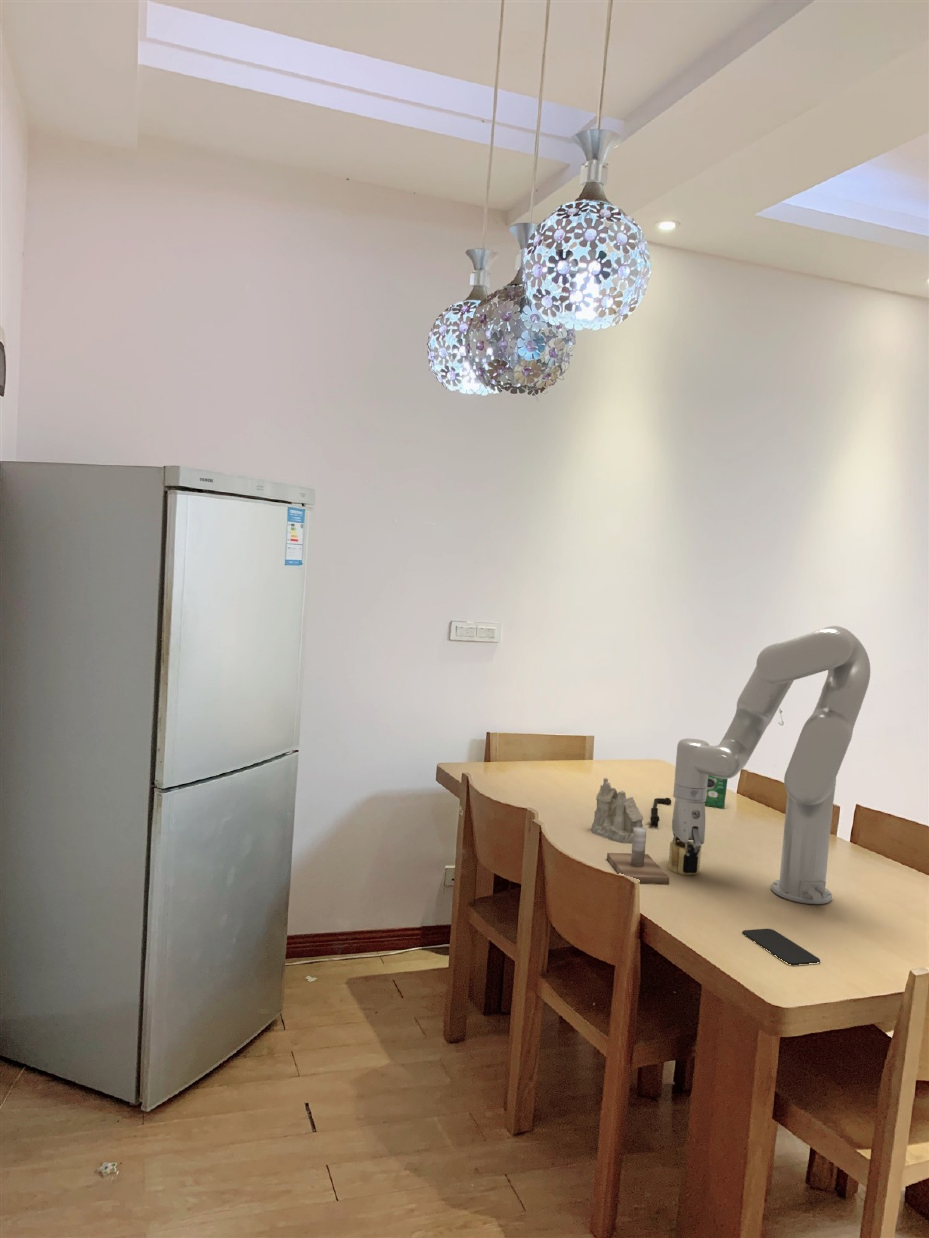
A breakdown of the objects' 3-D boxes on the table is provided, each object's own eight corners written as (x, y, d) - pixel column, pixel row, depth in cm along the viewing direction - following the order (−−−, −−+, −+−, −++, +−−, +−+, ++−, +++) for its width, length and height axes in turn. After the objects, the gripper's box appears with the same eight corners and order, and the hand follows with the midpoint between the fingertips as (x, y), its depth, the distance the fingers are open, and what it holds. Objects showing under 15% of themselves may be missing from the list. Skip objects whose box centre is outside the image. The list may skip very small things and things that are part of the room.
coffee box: (726, 807, 271) (729, 764, 270) (724, 809, 269) (728, 766, 268) (698, 802, 274) (702, 760, 274) (697, 804, 272) (700, 762, 271)
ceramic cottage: (622, 844, 227) (627, 785, 227) (579, 829, 240) (584, 773, 240) (665, 841, 235) (670, 784, 236) (621, 826, 249) (626, 772, 249)
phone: (771, 927, 178) (823, 960, 164) (771, 932, 178) (823, 965, 164) (739, 930, 176) (789, 963, 161) (739, 934, 176) (789, 968, 161)
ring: (703, 875, 208) (705, 849, 208) (674, 874, 207) (676, 848, 207) (693, 864, 215) (695, 840, 214) (664, 864, 214) (666, 839, 214)
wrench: (671, 810, 271) (668, 830, 242) (654, 809, 272) (649, 829, 243) (671, 793, 271) (668, 811, 242) (654, 792, 272) (649, 809, 243)
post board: (668, 884, 200) (672, 840, 200) (625, 882, 199) (628, 838, 199) (647, 860, 216) (650, 819, 216) (606, 858, 215) (610, 817, 215)
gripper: (719, 803, 202) (713, 880, 203) (692, 783, 219) (686, 854, 220) (687, 801, 201) (680, 879, 202) (662, 782, 218) (656, 853, 219)
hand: (683, 865), depth 211 cm, fingers closed on ring, 7 cm apart
